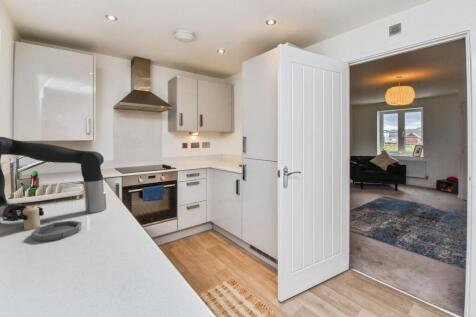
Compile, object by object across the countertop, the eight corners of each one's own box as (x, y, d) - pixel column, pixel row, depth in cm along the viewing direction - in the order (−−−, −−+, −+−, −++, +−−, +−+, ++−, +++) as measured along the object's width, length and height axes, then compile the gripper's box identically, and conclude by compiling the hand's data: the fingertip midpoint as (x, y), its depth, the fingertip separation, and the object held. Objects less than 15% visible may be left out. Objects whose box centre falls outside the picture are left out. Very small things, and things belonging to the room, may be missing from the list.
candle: (30, 230, 103) (28, 208, 102) (20, 229, 104) (18, 207, 103) (43, 225, 108) (41, 204, 107) (33, 225, 109) (32, 204, 108)
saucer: (65, 224, 110) (65, 219, 110) (89, 228, 104) (88, 223, 104) (24, 238, 95) (23, 232, 95) (49, 244, 89) (49, 237, 89)
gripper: (-9, 208, 104) (14, 212, 98) (30, 200, 117) (51, 203, 111) (-7, 224, 104) (15, 229, 98) (31, 214, 118) (53, 218, 112)
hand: (34, 215), depth 105 cm, fingers closed on candle, 5 cm apart
